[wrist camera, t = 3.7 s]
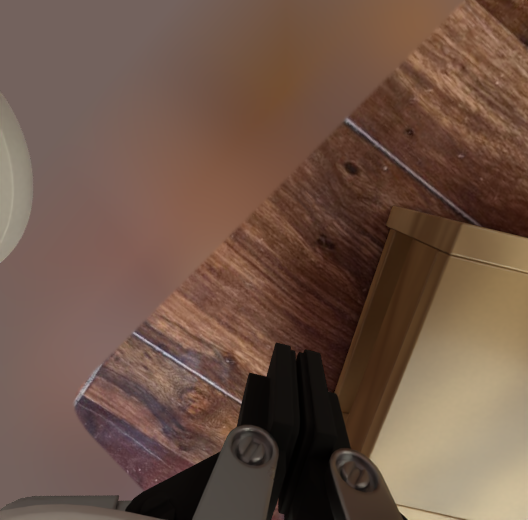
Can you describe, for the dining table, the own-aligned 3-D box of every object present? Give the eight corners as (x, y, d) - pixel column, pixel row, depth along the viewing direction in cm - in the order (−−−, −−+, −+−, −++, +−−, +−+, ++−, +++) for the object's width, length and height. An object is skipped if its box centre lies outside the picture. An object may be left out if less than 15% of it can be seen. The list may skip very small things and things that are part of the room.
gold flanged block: (323, 407, 21) (345, 514, 15) (392, 205, 18) (462, 222, 11) (465, 440, 22) (551, 560, 15) (561, 245, 18) (733, 287, 11)
